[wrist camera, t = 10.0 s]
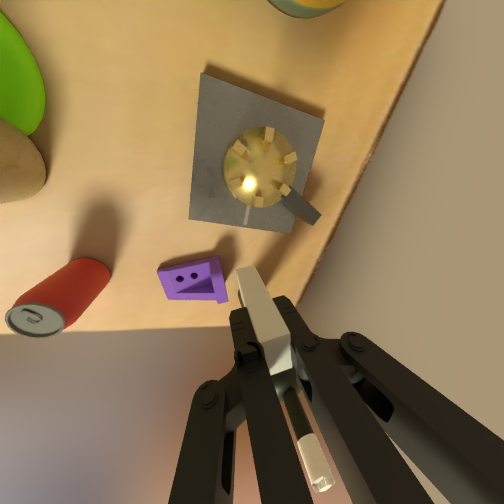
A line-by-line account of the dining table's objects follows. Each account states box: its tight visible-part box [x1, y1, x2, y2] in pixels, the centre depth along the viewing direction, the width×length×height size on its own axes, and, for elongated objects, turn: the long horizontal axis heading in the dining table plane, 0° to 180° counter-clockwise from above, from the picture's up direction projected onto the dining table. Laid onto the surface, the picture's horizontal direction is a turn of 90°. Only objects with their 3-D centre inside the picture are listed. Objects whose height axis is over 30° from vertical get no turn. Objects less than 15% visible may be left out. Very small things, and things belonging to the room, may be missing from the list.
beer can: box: [5, 258, 110, 339], centre depth 27 cm, size 7×7×12 cm
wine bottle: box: [238, 289, 335, 493], centre depth 30 cm, size 6×6×30 cm
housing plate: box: [189, 73, 325, 234], centre depth 31 cm, size 20×20×2 cm
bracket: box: [157, 256, 228, 304], centre depth 35 cm, size 12×7×7 cm, turn 97°
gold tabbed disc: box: [223, 127, 321, 226], centre depth 30 cm, size 19×11×5 cm, turn 52°
